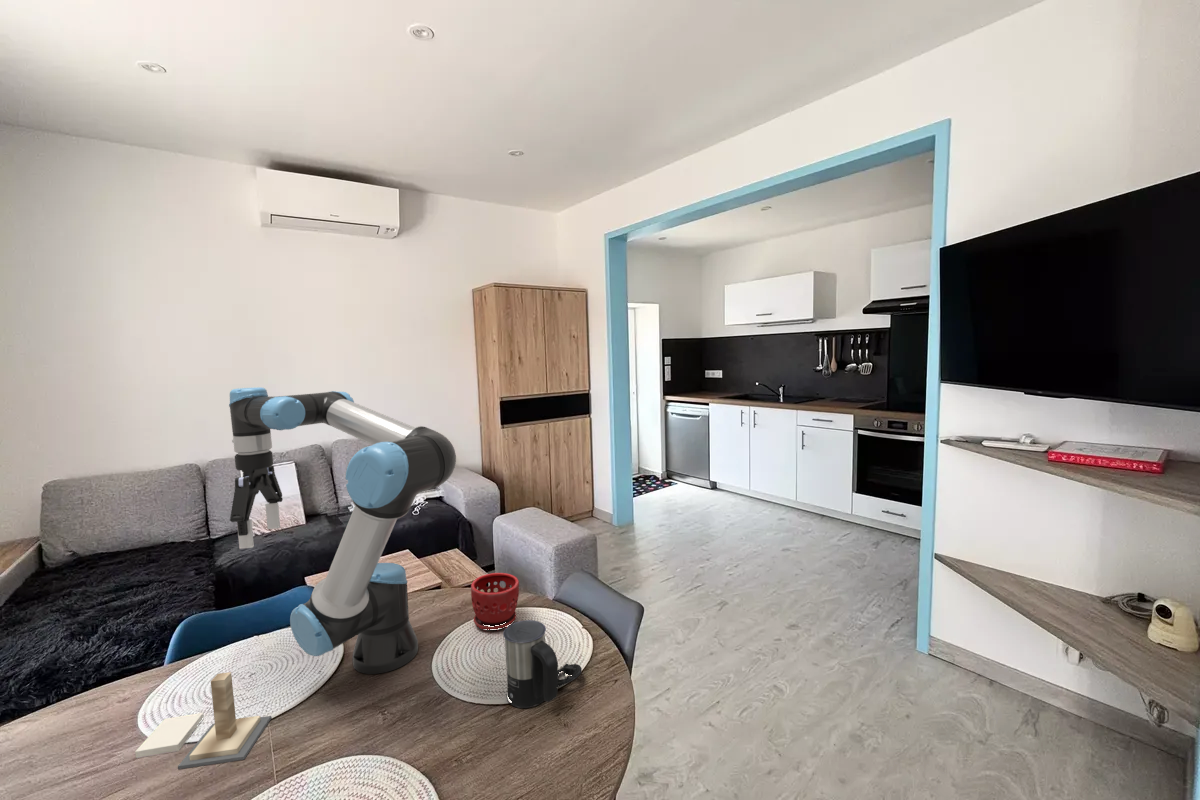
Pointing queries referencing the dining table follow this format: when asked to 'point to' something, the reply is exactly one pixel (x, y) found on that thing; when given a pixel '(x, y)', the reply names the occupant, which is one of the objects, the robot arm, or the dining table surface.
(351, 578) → the robot arm
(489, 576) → the plant pot
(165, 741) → the tile
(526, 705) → the milk frother
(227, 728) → the block tower on stand
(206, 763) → the rest mat
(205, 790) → the dining table surface
